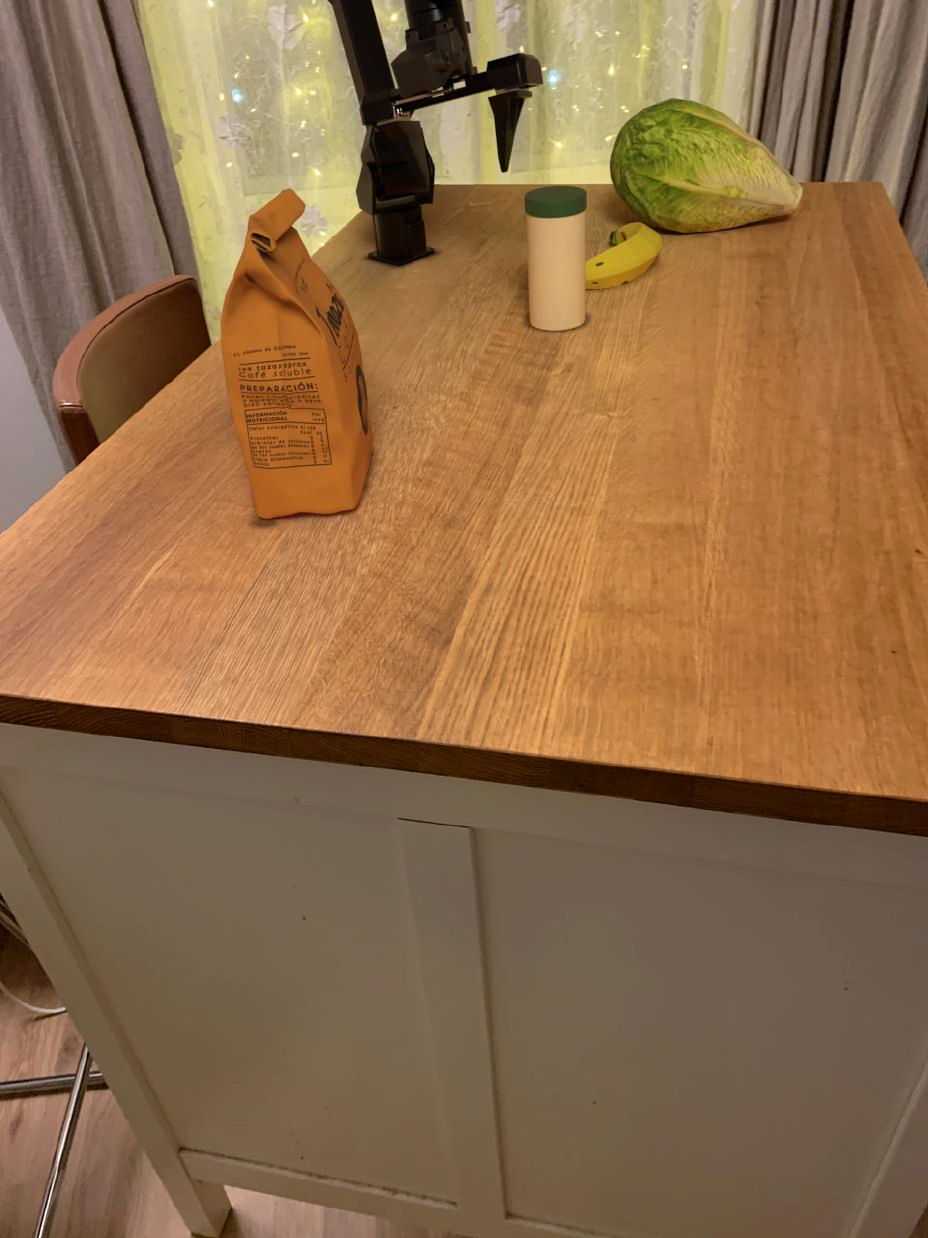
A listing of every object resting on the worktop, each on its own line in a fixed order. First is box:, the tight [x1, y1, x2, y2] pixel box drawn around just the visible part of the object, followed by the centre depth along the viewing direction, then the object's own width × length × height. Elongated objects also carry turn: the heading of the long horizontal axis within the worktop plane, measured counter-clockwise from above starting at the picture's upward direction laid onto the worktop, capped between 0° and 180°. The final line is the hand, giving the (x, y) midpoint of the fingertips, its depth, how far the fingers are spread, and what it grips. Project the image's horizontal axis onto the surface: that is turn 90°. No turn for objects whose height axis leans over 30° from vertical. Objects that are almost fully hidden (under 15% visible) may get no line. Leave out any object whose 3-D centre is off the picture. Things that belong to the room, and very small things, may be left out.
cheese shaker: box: [524, 185, 588, 332], centre depth 102 cm, size 6×6×13 cm
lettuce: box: [609, 97, 804, 234], centre depth 124 cm, size 15×25×16 cm
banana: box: [585, 221, 664, 290], centre depth 117 cm, size 5×17×15 cm
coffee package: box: [219, 188, 374, 520], centre depth 74 cm, size 10×12×22 cm
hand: (464, 180), depth 104 cm, fingers open, 9 cm apart
